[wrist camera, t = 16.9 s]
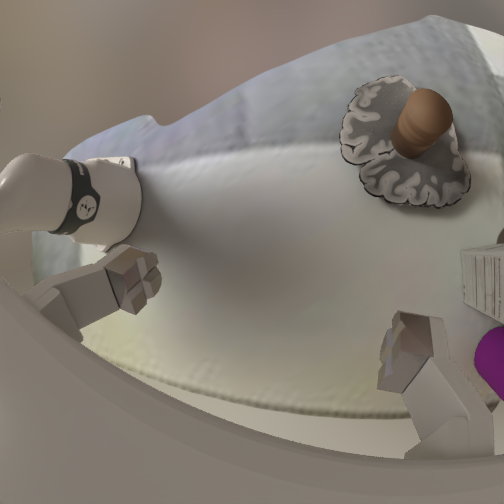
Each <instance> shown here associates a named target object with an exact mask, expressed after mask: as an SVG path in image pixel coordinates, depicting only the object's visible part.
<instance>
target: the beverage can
mask: <svg viewBox="0 0 504 504" xmlns="http://www.w3.org/2000/svg"><path fill="white" fill-rule="evenodd" d="M474 362H475V367H476V369H477V371H478V373H479V374H480V375H481V377H482V378H483V379H484V380H485V381H486V382H487V383H488V384H489V386H490V387H491V388H492V389H493V390H494V391H495V392H496V394H497V395H498V396H499V397H500V398H501V399H502V400H503V401H504V327H496V328H494V329H492V330H490V331H489V332H488V333H487V334H486V335H485V336H484V337H483V338H482V340H481V341H480V343H479V344H478V347H477V349H476V352H475V358H474Z"/></svg>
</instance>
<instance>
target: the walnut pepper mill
mask: <svg viewBox="0 0 504 504" xmlns="http://www.w3.org/2000/svg"><path fill="white" fill-rule="evenodd" d="M452 122H453V114H452V110H451V108H450V106H449V104H448V103H447V101H446V100H445V99H444V98H443V97H442V96H441V95H440V94H438V93H437V92H435V91H433V90H430V89H424V88H422V89H417V90H415V91H414V92H412V93H411V95H410V97H409V99H408V101H407V103H406V105H405V107H404V109H403V111H402V113H401V115H400V117H399V119H398V121H397V123H396V124H395V126H394V128H393V130H392V133H391V143H392V145H393V147H394V149H395V150H396V151H397V152H398V153H399V154H400V155H401V156H403V157H405V158H409V159H414V158H417V157H419V156H421V155H422V154H423V153H424V152H425V151H426V150H427V149H428V148H429V147H430V146H431V145H433V144H434V143H435V142H436V141H437V140H438V139H439V138H440V137H441V136H442V135H443V134H444V133H445V132H446V131H447V130H448V129H449V128H450V127H451V125H452Z"/></svg>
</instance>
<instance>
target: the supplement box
mask: <svg viewBox="0 0 504 504" xmlns="http://www.w3.org/2000/svg"><path fill="white" fill-rule="evenodd" d="M461 262H462V277H463V303H465V304H467V305H468V306H470V307H473V308H474V309H476V310H478V311H480V312H482V313H484V314H486V315H488V316H489V317H491V318H493V319H495V320H497V321H499V322H500V323H502V324H504V244H496V245H492V246H486V247H480V248H474V249H468V250H461Z"/></svg>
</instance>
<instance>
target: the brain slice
mask: <svg viewBox="0 0 504 504" xmlns="http://www.w3.org/2000/svg"><path fill="white" fill-rule="evenodd" d="M415 90H417V89H416V88H415V87H414V86H413V84H411V83H410V82H409V81H408V80H407V79H406V78H404V77H402V76H399V75H397V76H387V77H382V78H379V79H378V80H375V81H372V82H370V83H367V84H365V85H363V86H362V87H360V88H357V89H356V90H355V95H356V96H355V97H354V98H353V99H352V101H351V102H350V103H349V105H348V109H347V110H348V112H347V113H346V114H345V116H344V118H343V122H342V130H341V131H340V135H339V139H340V143H341V154H342V157H343V158H344V160H345V161H346V162H348V163H350V164H352V165H362V164H365V165H364V166H363V167H362V168H361V170H360V173H359V178H360V181H361V182H362V183H363V185H364V189H365V190H366V192H367V193H369V194H370V195H372V196H374V197H383V198H384V199H385V201H386V202H388V203H390V204H394V205H404V204H408V205H410V206H413V207H435V208H437V209H441V208H444V207H446V206H452V205H454V204H455V203H456V202H458V201H459V200H460V199H461V198H462V195H465V194H466V193H467V192H468V191H469V189H470V186H471V175H470V172H469V170H468V168H467V165H466V163H465V162H464V161H463V159H462V157H461V154H460V152H459V149H458V141H457V136H456V134H455V128H454V124H453V123H452V125H451V127H450V128H449V129H448V130H447V131H446V132H445V133H444V134H443V135H442V136H441V137H440V138H439V139H438V140H437V141H436V142H435V143H434V144H433V145H431V146H430V147H429V148H428V149H427V150H426V151H425V152H424V153H423V154H422V155H421V156H419V157H417V158H414V159H409V158H405V157H403V156H401V155H400V154H399V153H398V152H397V151H396V150H395V149H394V147H393V145H392V143H391V133H392V130H393V128H394V126H395V124H396V123H397V121H398V119H399V117H400V115H401V113H402V111H403V109H404V107H405V105H406V103H407V101H408V99H409V97H410V95H411V93H412V92H414V91H415Z"/></svg>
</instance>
